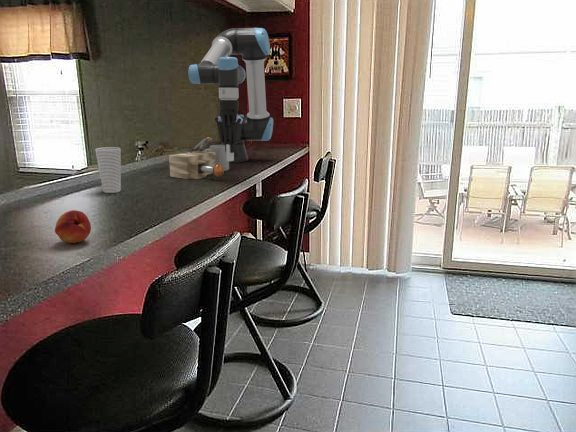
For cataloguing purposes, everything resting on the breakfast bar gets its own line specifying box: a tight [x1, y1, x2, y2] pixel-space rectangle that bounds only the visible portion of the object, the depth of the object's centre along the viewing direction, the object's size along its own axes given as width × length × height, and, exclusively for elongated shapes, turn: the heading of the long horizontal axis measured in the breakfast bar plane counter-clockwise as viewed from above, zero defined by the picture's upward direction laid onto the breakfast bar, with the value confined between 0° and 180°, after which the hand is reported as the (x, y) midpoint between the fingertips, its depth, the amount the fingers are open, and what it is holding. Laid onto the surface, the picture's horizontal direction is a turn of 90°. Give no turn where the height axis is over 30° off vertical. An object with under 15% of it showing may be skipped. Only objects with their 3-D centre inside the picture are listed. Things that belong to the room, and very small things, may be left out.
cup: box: [94, 146, 122, 194], centre depth 167 cm, size 8×8×16 cm
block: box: [168, 148, 216, 180], centre depth 200 cm, size 18×14×11 cm
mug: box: [203, 144, 230, 172], centre depth 215 cm, size 12×8×11 cm
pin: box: [198, 165, 225, 178], centre depth 193 cm, size 5×17×5 cm, turn 57°
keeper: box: [191, 136, 213, 152], centre depth 204 cm, size 5×11×2 cm
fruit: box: [54, 209, 92, 244], centre depth 111 cm, size 8×8×8 cm
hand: (230, 160), depth 184 cm, fingers closed
